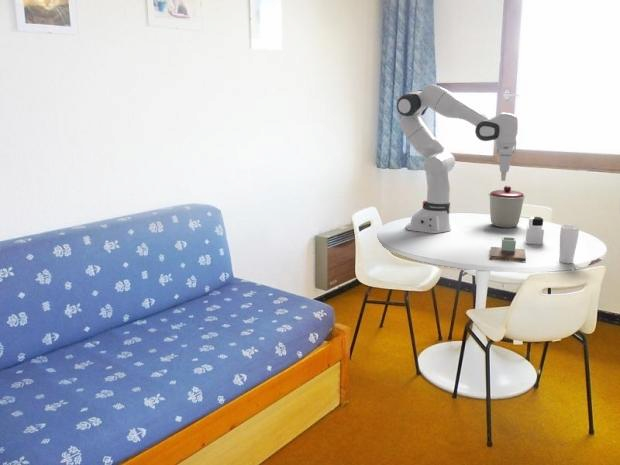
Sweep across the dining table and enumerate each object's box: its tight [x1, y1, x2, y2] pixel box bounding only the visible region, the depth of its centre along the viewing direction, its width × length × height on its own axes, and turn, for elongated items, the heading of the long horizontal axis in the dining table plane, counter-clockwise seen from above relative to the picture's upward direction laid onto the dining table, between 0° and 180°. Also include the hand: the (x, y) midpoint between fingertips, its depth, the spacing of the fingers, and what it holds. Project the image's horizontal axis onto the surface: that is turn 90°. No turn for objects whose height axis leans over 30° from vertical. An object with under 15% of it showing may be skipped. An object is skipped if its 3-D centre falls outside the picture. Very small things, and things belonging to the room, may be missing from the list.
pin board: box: [489, 246, 527, 262], centre depth 241 cm, size 14×14×6 cm
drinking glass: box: [558, 224, 580, 264], centre depth 231 cm, size 7×7×15 cm
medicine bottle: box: [525, 216, 545, 246], centre depth 260 cm, size 7×7×12 cm
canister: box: [488, 185, 526, 229], centre depth 291 cm, size 18×18×21 cm
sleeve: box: [501, 236, 517, 255], centre depth 241 cm, size 5×5×6 cm
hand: (503, 179), depth 259 cm, fingers open, 8 cm apart
